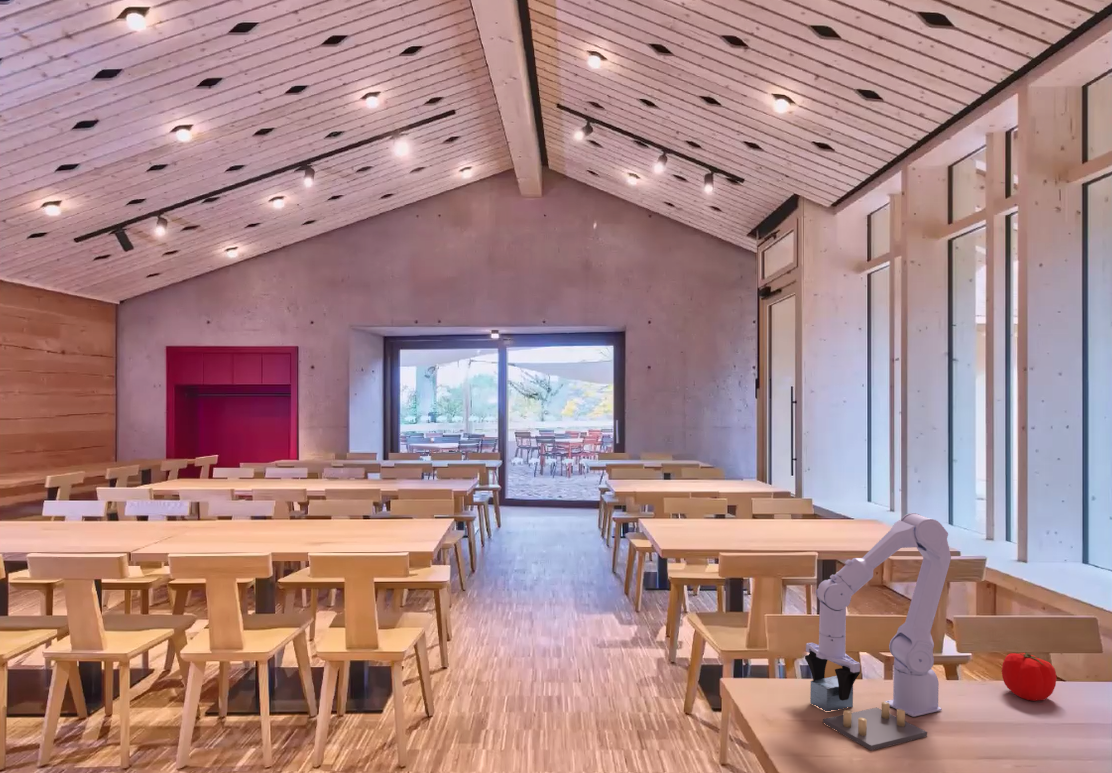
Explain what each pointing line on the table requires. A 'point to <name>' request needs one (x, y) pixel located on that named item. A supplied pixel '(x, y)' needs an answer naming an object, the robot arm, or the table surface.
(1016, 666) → the tomato
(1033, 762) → the table surface
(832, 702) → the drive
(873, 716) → the grey pegged base plate
